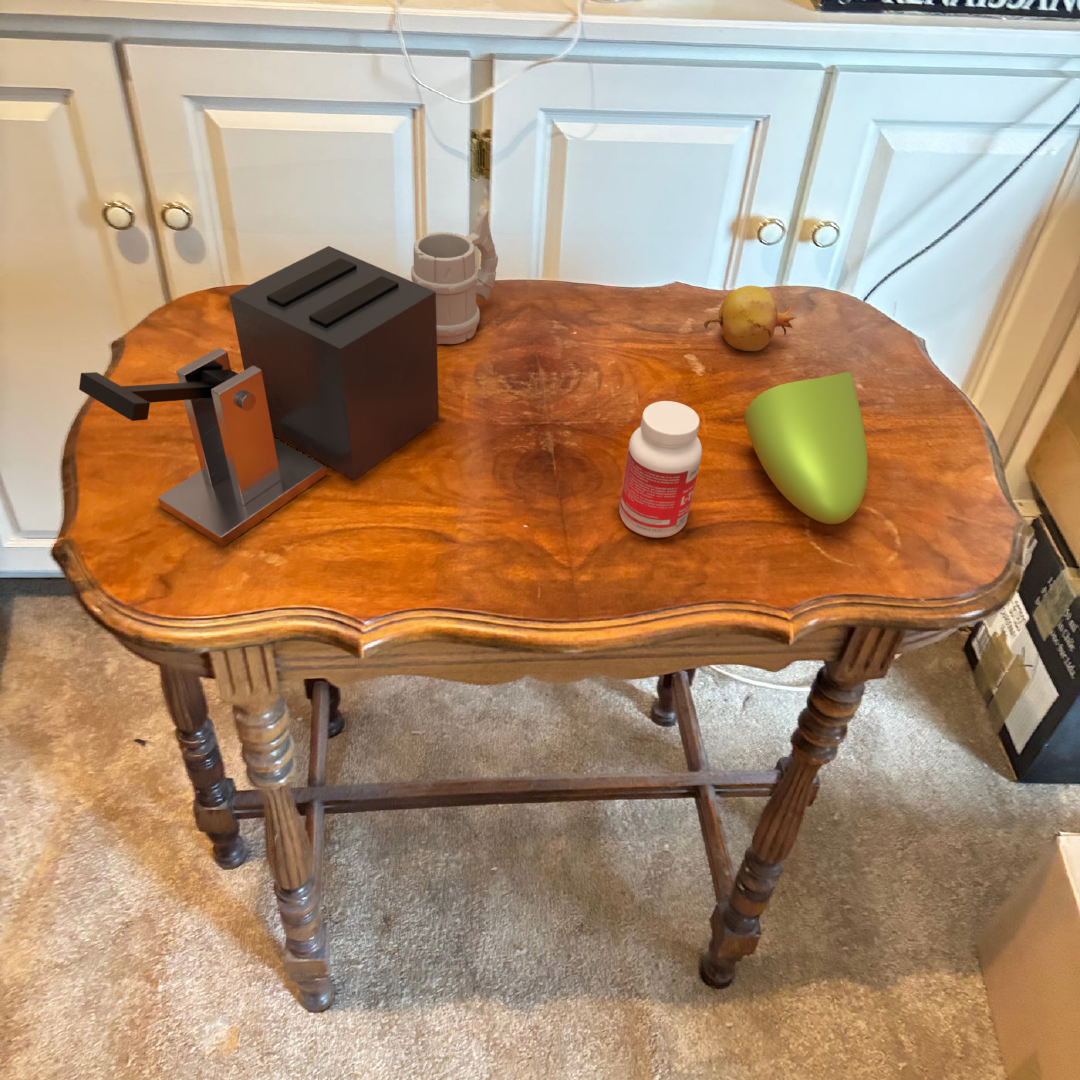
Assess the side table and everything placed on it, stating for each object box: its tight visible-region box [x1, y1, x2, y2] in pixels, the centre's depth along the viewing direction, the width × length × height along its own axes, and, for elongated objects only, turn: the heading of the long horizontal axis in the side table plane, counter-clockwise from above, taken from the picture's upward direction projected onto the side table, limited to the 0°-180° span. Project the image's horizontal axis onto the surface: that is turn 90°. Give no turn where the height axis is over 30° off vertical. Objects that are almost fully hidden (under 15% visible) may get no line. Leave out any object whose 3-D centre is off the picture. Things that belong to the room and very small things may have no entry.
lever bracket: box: [157, 347, 327, 548], centre depth 79 cm, size 12×8×13 cm, turn 145°
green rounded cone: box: [743, 371, 869, 525], centre depth 87 cm, size 8×12×20 cm
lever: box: [78, 369, 239, 422], centre depth 72 cm, size 12×6×2 cm, turn 146°
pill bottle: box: [618, 400, 703, 538], centre depth 80 cm, size 6×6×11 cm
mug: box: [410, 206, 499, 345], centre depth 102 cm, size 8×12×12 cm, turn 140°
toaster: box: [229, 245, 440, 482], centre depth 86 cm, size 12×13×14 cm
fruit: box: [703, 285, 797, 352], centre depth 104 cm, size 7×7×10 cm
